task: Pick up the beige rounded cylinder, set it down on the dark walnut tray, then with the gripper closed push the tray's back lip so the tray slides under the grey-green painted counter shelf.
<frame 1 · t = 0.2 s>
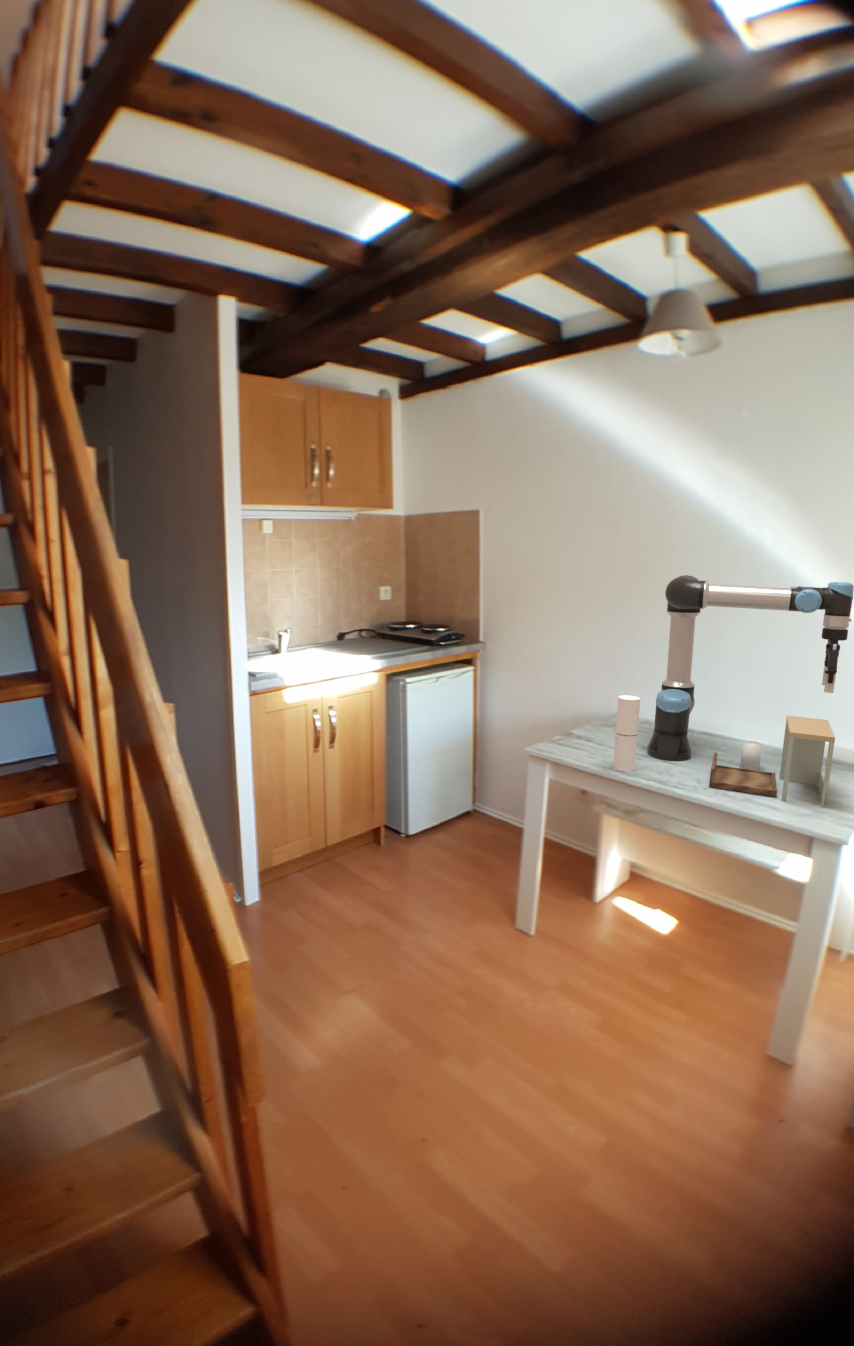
hand: (827, 688, 233), 28 cm above the table, fingers open, 13 cm apart
tray: (743, 773, 218), point 3 cm above the table, slide at 0.0 cm
beige rounded cylinder: (749, 768, 234), on the table
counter: (801, 792, 212), on the table
cylindrical container: (623, 769, 231), on the table
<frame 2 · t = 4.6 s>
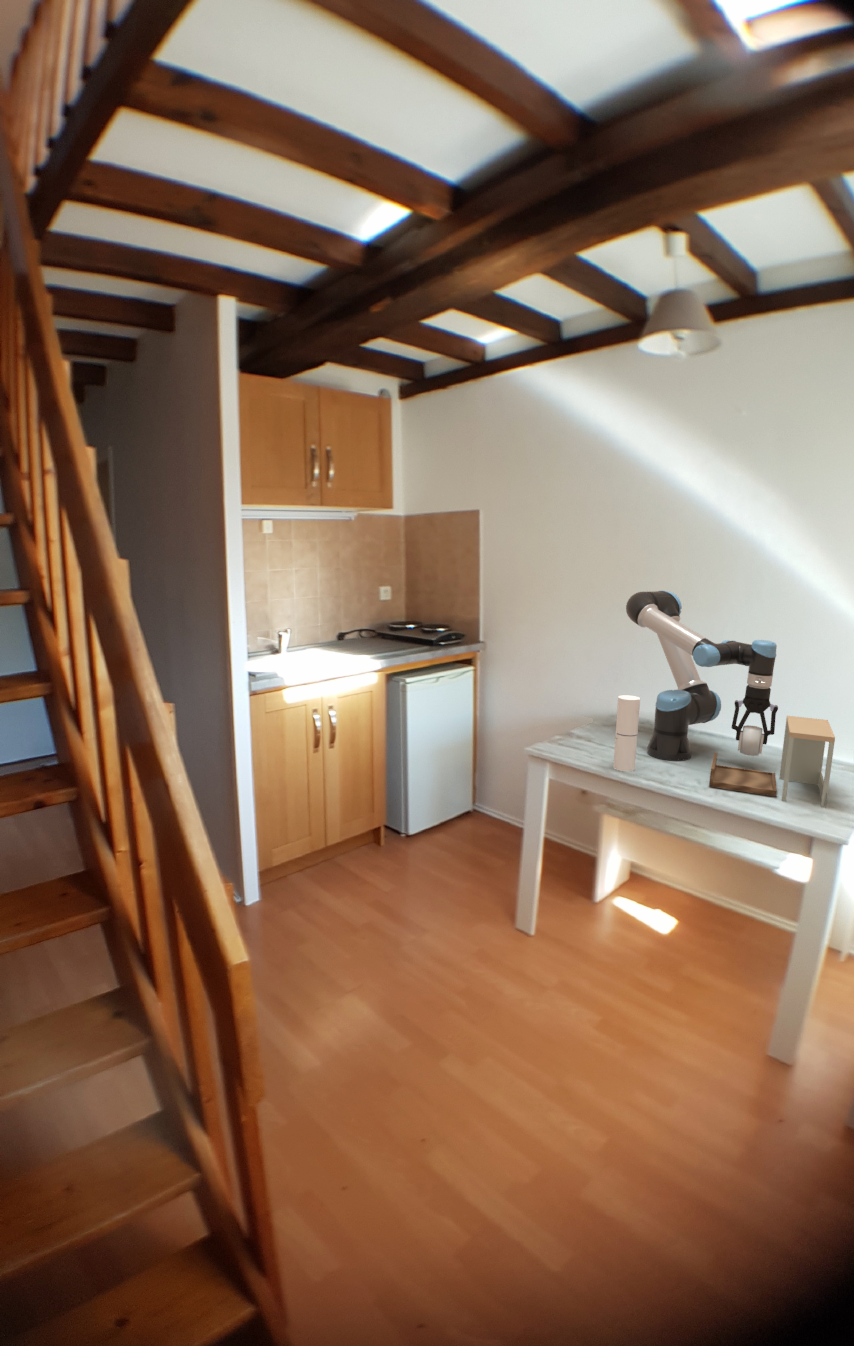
hand: (749, 750, 233), 6 cm above the table, fingers closed on beige rounded cylinder, 6 cm apart
beige rounded cylinder: (749, 752, 233), point 5 cm above the table, touching gripper
everything else where it was.
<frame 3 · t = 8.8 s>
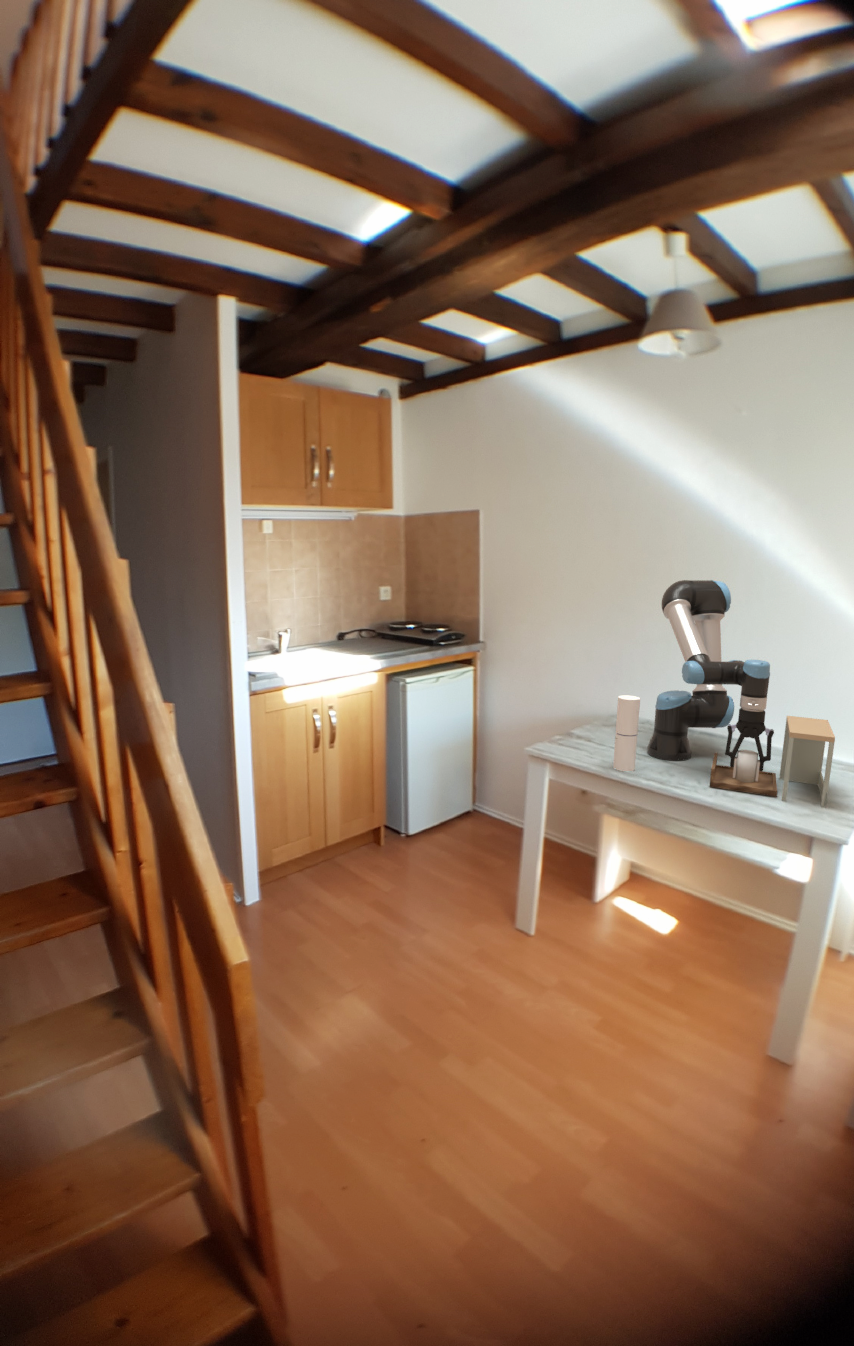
hand: (745, 778, 218), 2 cm above the table, fingers closed on beige rounded cylinder, 6 cm apart
tray: (743, 773, 218), point 3 cm above the table, slide at 0.1 cm, touching beige rounded cylinder, gripper
beige rounded cylinder: (745, 779, 218), point 2 cm above the table, touching gripper, tray
everything else where it was.
when the fingers open (2 cm above the table, at t = 9.0 s): beige rounded cylinder stays where it is, resting on tray.
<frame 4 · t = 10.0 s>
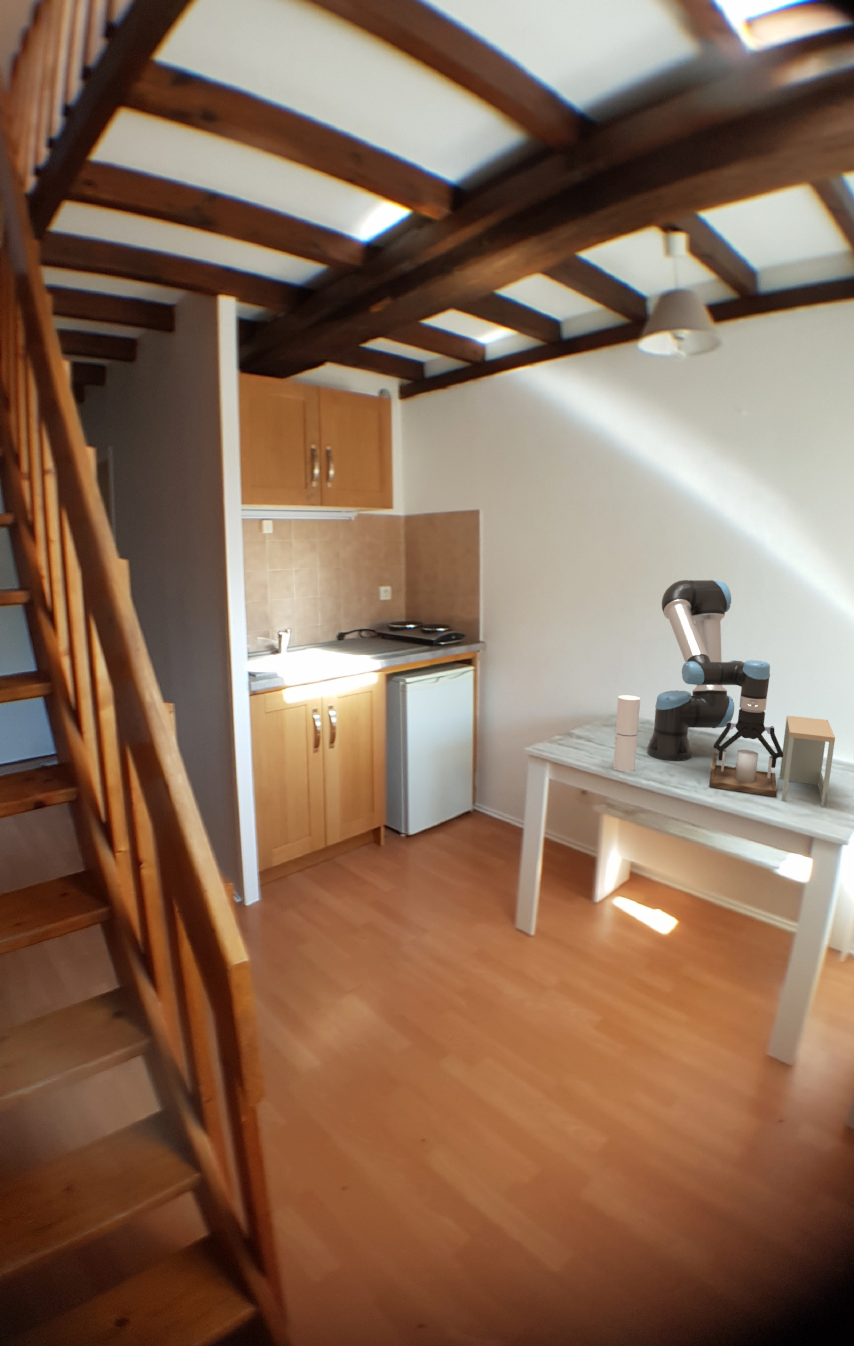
hand: (745, 773, 218), 3 cm above the table, fingers open, 13 cm apart
tray: (743, 773, 218), point 3 cm above the table, slide at 0.0 cm, touching beige rounded cylinder
beige rounded cylinder: (744, 779, 218), point 2 cm above the table, touching tray
everything else where it was.
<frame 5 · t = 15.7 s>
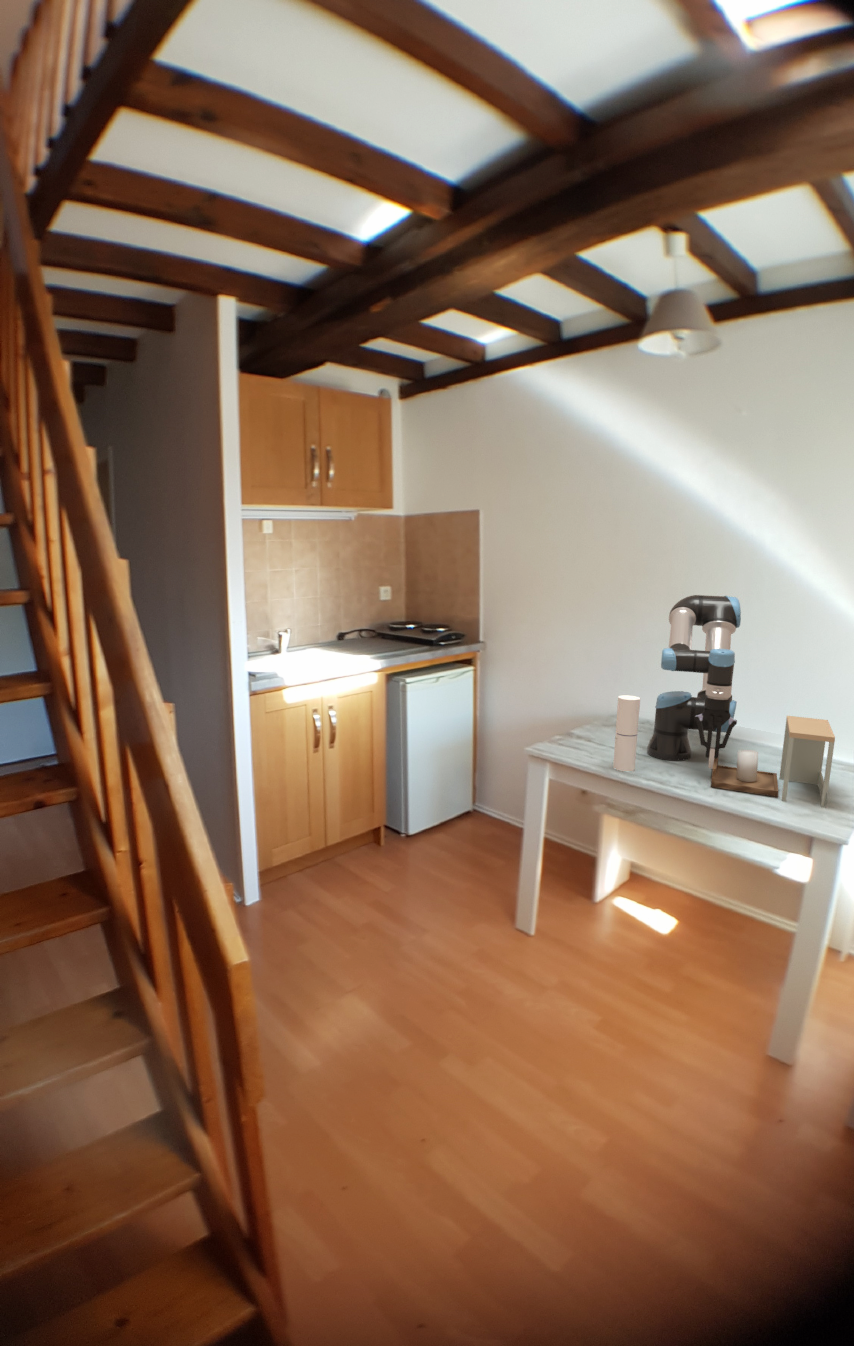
hand: (710, 767, 222), 4 cm above the table, fingers closed
tray: (744, 773, 218), point 3 cm above the table, slide at 0.5 cm, touching beige rounded cylinder, gripper
everything else where it was.
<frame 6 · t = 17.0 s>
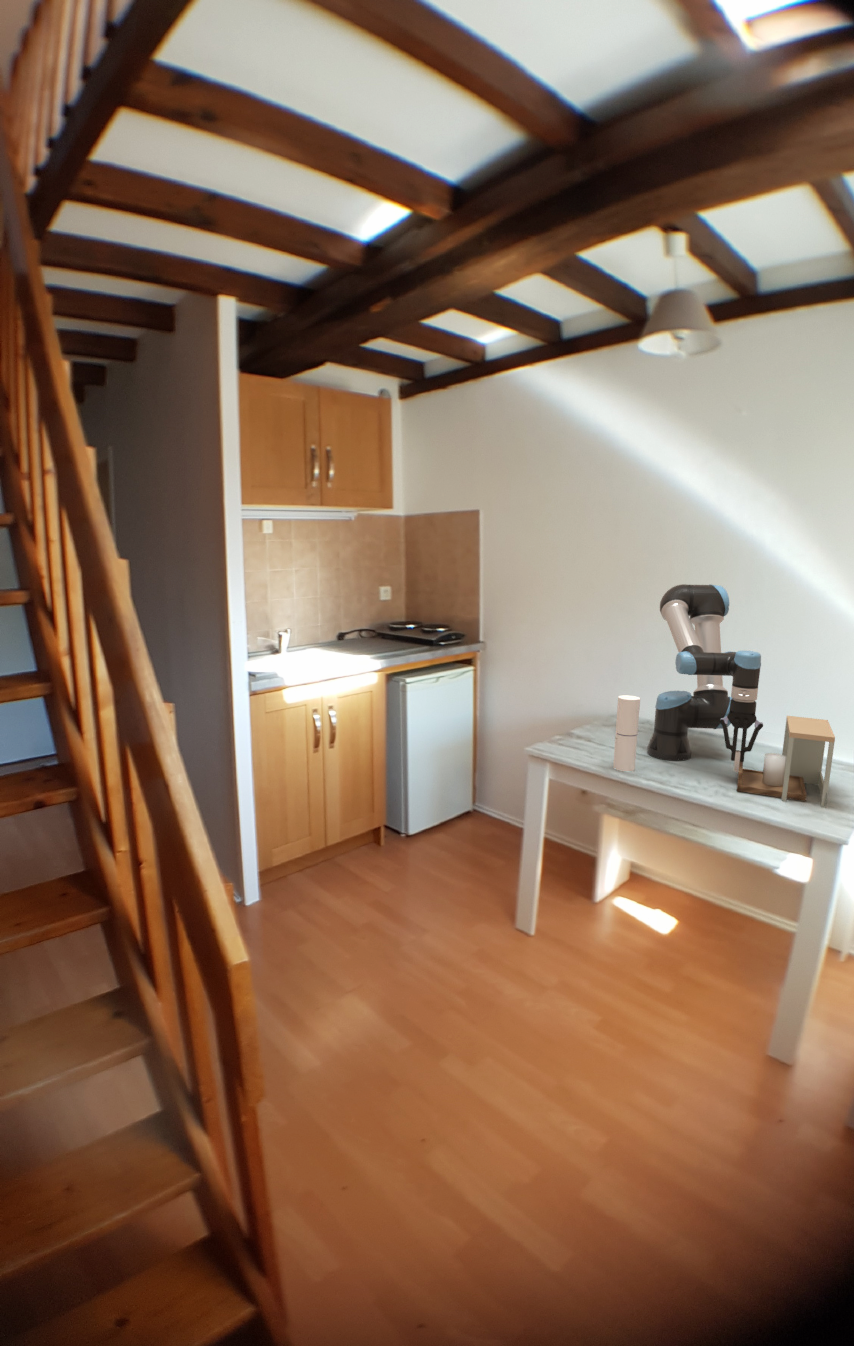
hand: (736, 770, 218), 4 cm above the table, fingers closed
tray: (771, 777, 214), point 3 cm above the table, slide at 8.0 cm, touching beige rounded cylinder, gripper
beige rounded cylinder: (772, 783, 214), point 2 cm above the table, touching tray
everything else where it was.
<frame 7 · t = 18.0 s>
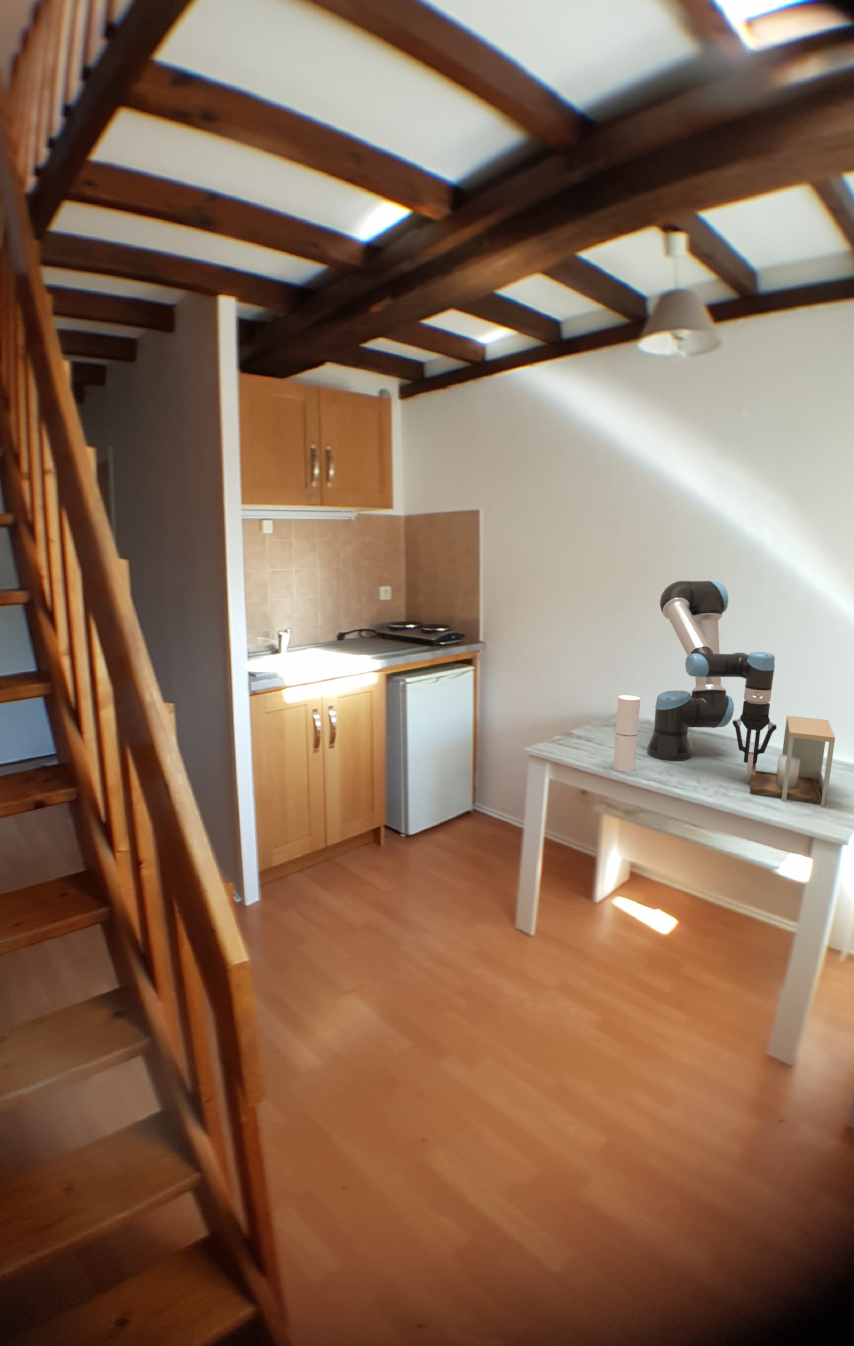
hand: (749, 772, 217), 4 cm above the table, fingers closed
tray: (784, 779, 213), point 3 cm above the table, slide at 11.8 cm, touching beige rounded cylinder
beige rounded cylinder: (786, 785, 213), point 2 cm above the table, touching tray
everything else where it was.
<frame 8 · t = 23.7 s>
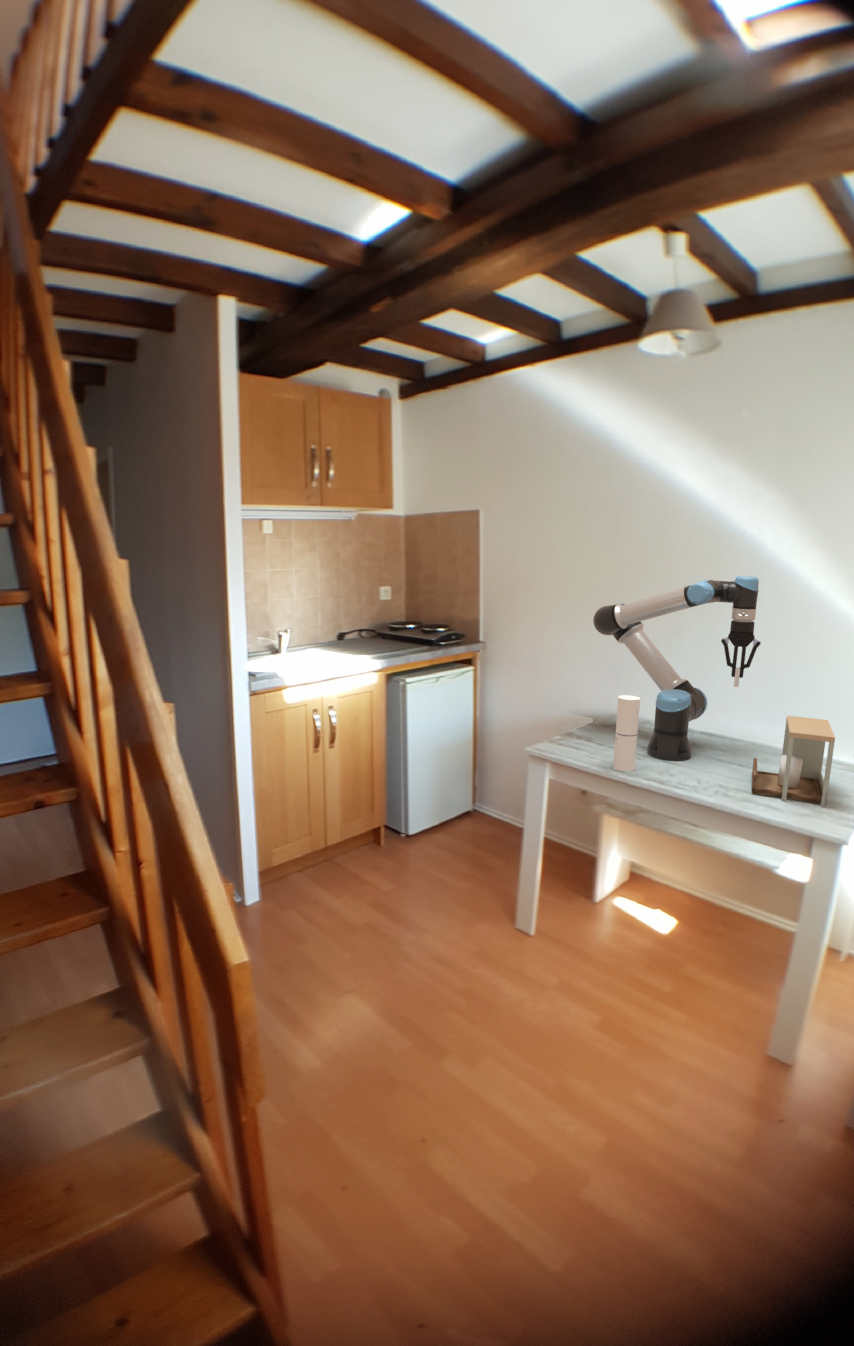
hand: (736, 686, 241), 26 cm above the table, fingers closed
tray: (786, 779, 213), point 3 cm above the table, slide at 12.2 cm, touching beige rounded cylinder
everything else where it was.
at the end: tray slide at 12.2 cm; beige rounded cylinder inside the target area on the tray (0.7 cm from its centre), point 1.8 cm above the tray's base; beige rounded cylinder tilted 4° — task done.
